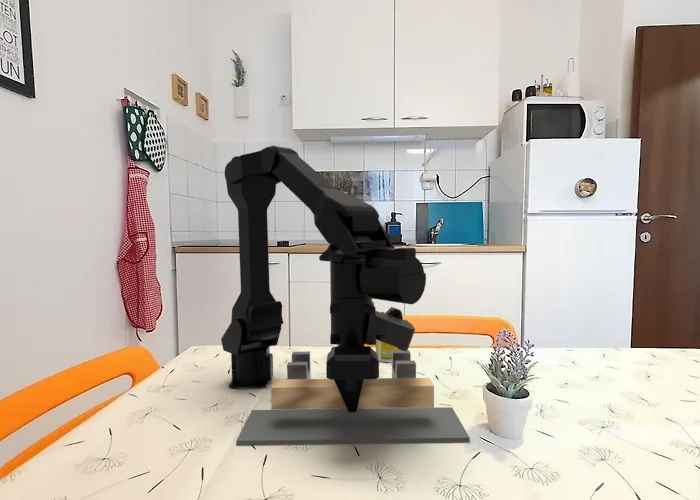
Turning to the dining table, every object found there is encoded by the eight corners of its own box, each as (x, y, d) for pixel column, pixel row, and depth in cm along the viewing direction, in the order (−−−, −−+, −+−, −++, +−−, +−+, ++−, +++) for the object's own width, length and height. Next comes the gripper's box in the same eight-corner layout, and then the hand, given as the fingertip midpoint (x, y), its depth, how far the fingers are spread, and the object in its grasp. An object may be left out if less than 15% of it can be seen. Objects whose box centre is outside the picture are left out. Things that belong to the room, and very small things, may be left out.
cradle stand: (280, 407, 65) (280, 366, 64) (288, 387, 73) (287, 350, 72) (423, 405, 65) (423, 364, 65) (414, 386, 73) (414, 349, 73)
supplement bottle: (370, 358, 88) (370, 313, 88) (388, 353, 92) (388, 310, 91) (388, 365, 84) (388, 317, 84) (406, 359, 88) (406, 314, 87)
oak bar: (271, 409, 57) (271, 387, 56) (275, 400, 60) (274, 379, 59) (433, 407, 57) (434, 385, 57) (429, 398, 60) (429, 377, 60)
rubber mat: (236, 445, 54) (236, 440, 54) (252, 413, 63) (252, 409, 63) (469, 442, 54) (469, 437, 54) (452, 411, 63) (452, 407, 63)
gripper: (422, 308, 48) (422, 440, 49) (401, 285, 67) (401, 381, 68) (325, 309, 48) (326, 441, 49) (331, 285, 67) (332, 381, 68)
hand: (352, 406), depth 58 cm, fingers closed on oak bar, 3 cm apart
